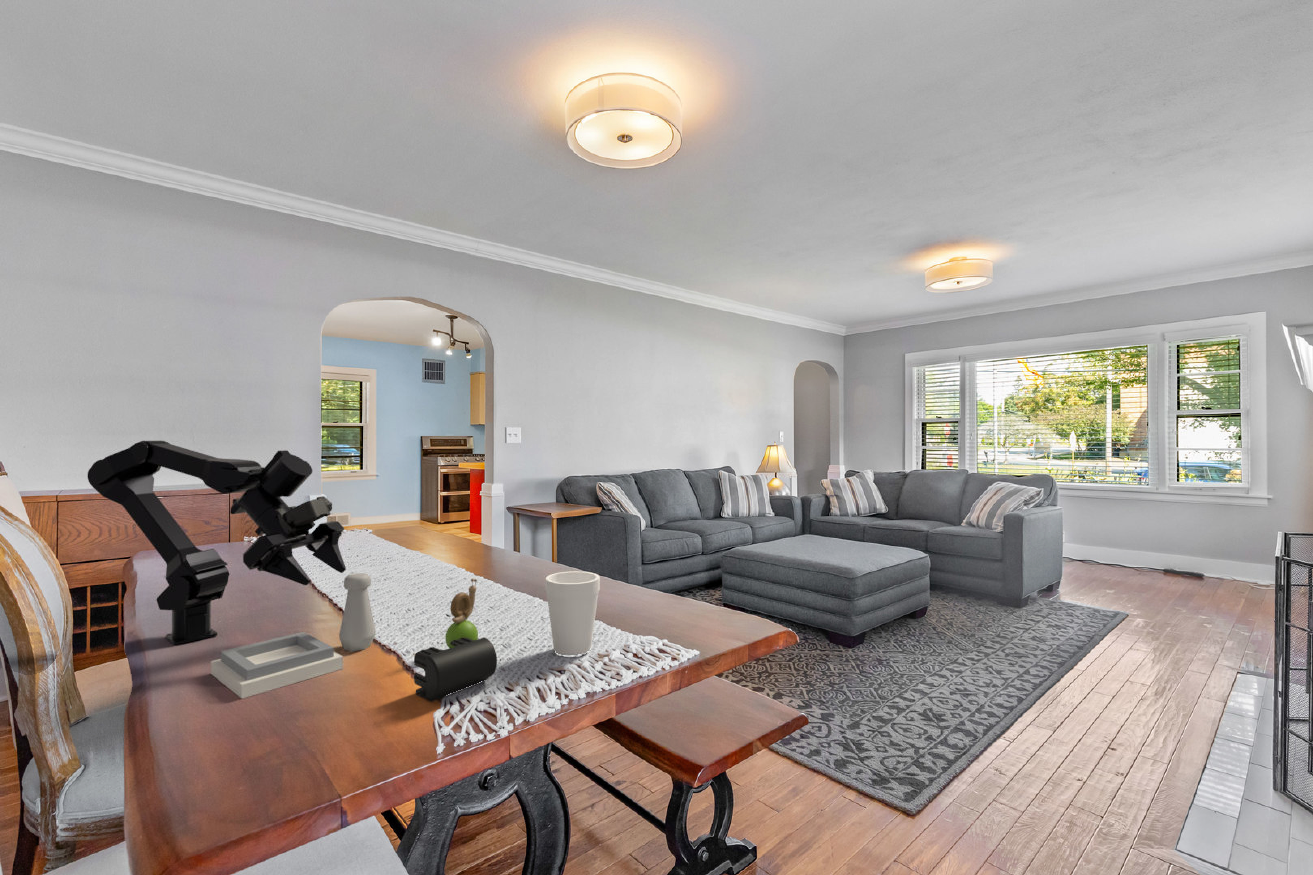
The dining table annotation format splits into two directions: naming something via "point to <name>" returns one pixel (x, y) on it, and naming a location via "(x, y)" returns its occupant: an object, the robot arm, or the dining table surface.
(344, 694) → the dining table surface
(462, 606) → the snail figurine
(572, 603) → the foam cup
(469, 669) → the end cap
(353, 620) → the salt shaker
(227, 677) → the display plinth
